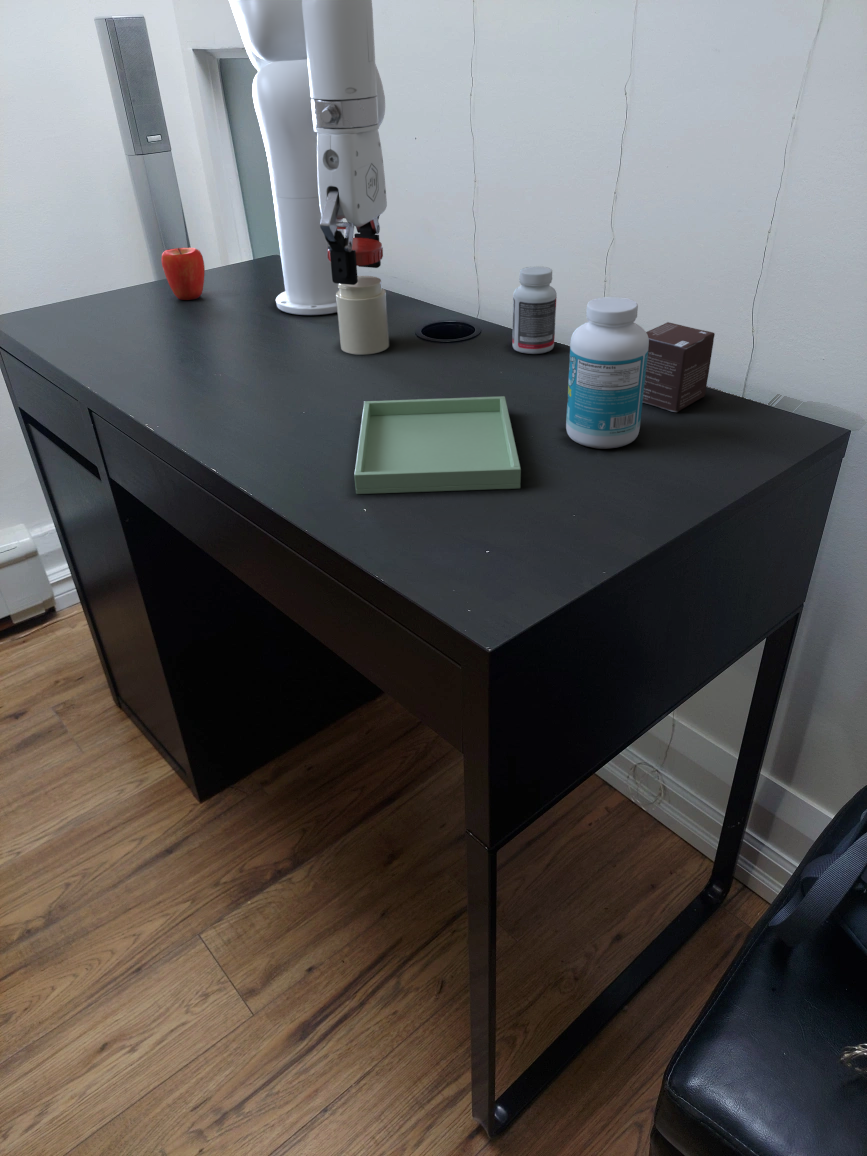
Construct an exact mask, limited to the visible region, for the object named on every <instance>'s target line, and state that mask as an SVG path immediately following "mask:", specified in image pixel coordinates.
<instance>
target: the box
mask: <svg viewBox="0 0 867 1156" xmlns="http://www.w3.org/2000/svg"><path fill="white" fill-rule="evenodd" d="M646 333H647V335H648V338H649V347H648V357H647V365H646V374H645V383H644V393H643V402H642V404H645V405H646V404H647V405H650V406H654V407H657V408H659V409H662V410H666V411H669V412H672V413H678V412H680V411H682V410H683V409H685V408H687V407H689V406H690V405H692V404H694V403H695V402H697V401H699V400H700V399H702V398H704V397H705V396H706V392H707V386H708V378H709V375H710V374H709V373H710V366H711V361H712V355H713V354H712V353H713V349H714V340H715V335H716V333H715V332H713V331H708V330H705V329H699V328H696V327H695V328H694V327H691V326H686V325H682V324H677V323H673V322H669V321H667V322H665V323H663V324H661V325H658V326H656V327H653V328H651V329H649V330H648V331H646Z"/></svg>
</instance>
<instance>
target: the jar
mask: <svg viewBox="0 0 867 1156" xmlns="http://www.w3.org/2000/svg"><path fill="white" fill-rule="evenodd" d="M357 277H358V282H357V283H356V284H355V285H349V284H338V287H339V291H338V292H337V293H336V302H337V312H336V313H337V322H338V323H337V324H338V332H339V343H340V344H339V345H340V349H341V351H343V352H344V353H347V354H350V355H358V356H360V355H361V356H362V355H364V356H365V355H373V354H378V353H381V352H383V351H386V350H387V349H388V348H389V347H390V337H389V336H390V335H389V318H388V306H387V305H388V303H387V290H386V289H385V288H382V279H381V278H379V277H377V276H374V275H373V276H372V275H357Z"/></svg>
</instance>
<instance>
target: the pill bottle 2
mask: <svg viewBox="0 0 867 1156" xmlns="http://www.w3.org/2000/svg"><path fill="white" fill-rule="evenodd" d="M638 309H639V304H638V302H637V301H636V300H634V299H631V298H627V297H622V296H602V297H597V298H593V299H591V300H589V301H588V302H587V304H586V315H585V316H586V320H587V321H586V322H585V323H582V324H581V325H579V326H578V327H577V328H576V329H575V330H574V331H573V333H572V334H571V337H570V342H569V343H570V344H569V361H568V363H569V364H568V382H567V383H568V384H567V402H566V416H565V417H566V418H565V429H566V434H567V435H568V437H569V438H570V439H571V440H572V441H574V442H575V443H576V444H579V445H581V446H584V447H587V448H593V449H601V450H602V449H604V450H605V449H608V450H609V449H617V448H621V447H625V446H627V445H630V444H631V443H633V442H634V441H635V440H636V439H637V438H638V435H639V434H640V433H639V432H640V429H641V420H642V412H643V403H642V402H643V393H644V383H645V374H646V365H647V357H648V347H649V338H648V335H647V333H646V332H647V331H646V330H645V329H644V328H643V327H642V326H640V325H639V324H638V323H636V322H635V321H636V319H637V318H638Z"/></svg>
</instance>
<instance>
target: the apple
mask: <svg viewBox="0 0 867 1156" xmlns="http://www.w3.org/2000/svg"><path fill="white" fill-rule="evenodd" d="M161 265H162V266H161V267H162V269H163V272H164V276H165V278H166V281H167V283H168V285H169V287H170V289H171V291H172V293H173V295H174V296H175V297H176V298H177V299H178V300H180V301H181V300H182V301H190V300H192V301H193V300H196V299H199V298H200V297H201V295H202V294H203V291H204V285H205V284H204V283H205V275H206V273H205V272H206V271H205V269H206V268H205V267H206V266H205V261H204V257H203V254H202V252H201V251H200V250H199V249H198V248H195V247H175V248H169V249H165V250H164V251H163V252H162V253H161Z"/></svg>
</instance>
